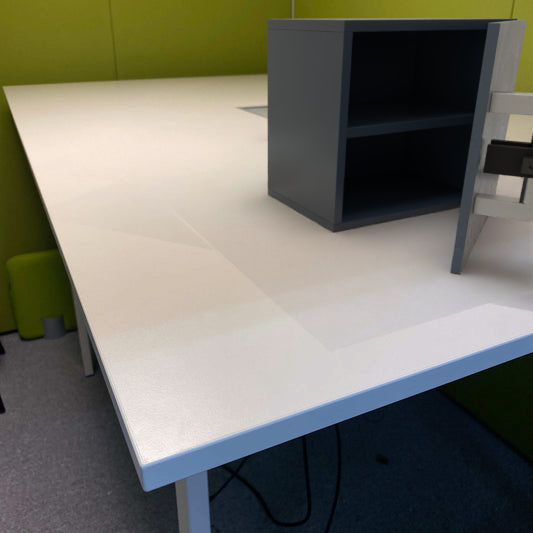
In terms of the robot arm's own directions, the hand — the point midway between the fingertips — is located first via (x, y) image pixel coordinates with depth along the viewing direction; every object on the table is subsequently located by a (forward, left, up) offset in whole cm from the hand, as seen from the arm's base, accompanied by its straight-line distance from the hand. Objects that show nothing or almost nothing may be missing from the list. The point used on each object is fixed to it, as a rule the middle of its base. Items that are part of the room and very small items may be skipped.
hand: (487, 155), depth 55 cm
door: (-4, -10, -12) cm, 16 cm away
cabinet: (+13, -21, -12) cm, 27 cm away
